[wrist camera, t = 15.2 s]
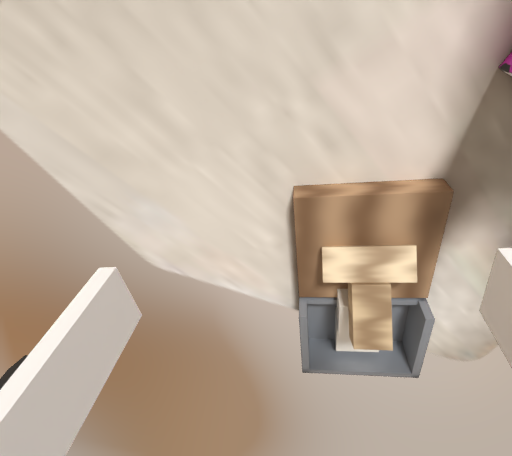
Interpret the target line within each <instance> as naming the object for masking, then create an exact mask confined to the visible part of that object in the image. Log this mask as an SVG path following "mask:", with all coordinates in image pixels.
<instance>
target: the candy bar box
mask: <svg viewBox="0 0 512 456" xmlns="http://www.w3.org/2000/svg"><path fill="white" fill-rule="evenodd" d="M499 69H500V70H502V71H504V72H505V73H507V74H509V75H510V76H512V52H511V53H510V54H509V56H508V57H507V58H506V59H505V60H504V62H503V63H502V64H501V65H500V66H499Z"/></svg>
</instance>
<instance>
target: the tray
mask: <svg viewBox="0 0 512 456" xmlns="http://www.w3.org/2000/svg"><path fill="white" fill-rule="evenodd" d="M391 302H392V338H393V351H391V350H379V352H356V351H336V345H335V335H334V332H335V307H337V297H299V323H300V340H301V356H302V372H303V373H325V374H327V373H328V374H347V375H348V374H349V375H369V376H391V377H413V378H418V377H419V375H420V371H421V367H422V364H423V360H424V357H425V353H426V350H427V346H428V342H429V339H430V335H431V332H432V328H433V324H434V321H435V319H434V316H433V314H432V312H431V309H430V307H429V305H428V302H427V300H426V298H391Z"/></svg>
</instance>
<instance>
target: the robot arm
mask: <svg viewBox="0 0 512 456" xmlns="http://www.w3.org/2000/svg"><path fill="white" fill-rule="evenodd" d="M479 311H480V313H481V314H482V316H483V318H484V320H485V321H486V323H487V325H488V327H489V329H490V330H491V332H492V334H493V336H494V337H495V339H496V341H497V343H498V344H499V346H500V348H501V350H502V352H503V353H504V355H505V357H506V358H507V360H508V362H509V364H510V366H511V367H512V248H498V249H497V253H496V256H495V259H494V263H493V266H492V270H491V273H490V276H489V280H488V283H487V286H486V290H485V293H484V297H483V300H482V303H481V307H480V310H479ZM141 316H142V314H141V312H140V311H139V309H138V307H137V305H136V303H135V301H134V299H133V297H132V296H131V294H130V292H129V290H128V288H127V286H126V284H125V282H124V281H123V279H122V277H121V275H120V273H119V271H118V270H117V268H116V267H107V268H99V269H98V270H97V271H96V272H95V273H94V275H93V276H92V277H91V278H90V280H89V281H88V282H87V284H86V285H85V286H84V287H83V288H82V290H81V291H80V292H79V293H78V294H77V296H76V297H75V298H74V299H73V301H72V302H71V303H70V304H69V306H68V307H67V308H66V309H65V311H64V312H63V313H62V314H61V316H60V317H59V318H58V319H57V320H56V322H55V323H54V324H53V325H52V327H51V328H50V329H49V330H48V332H47V333H46V334H45V335H44V336H43V338H42V339H41V340H40V342H39V343H38V344H37V345H36V347H35V348H34V349H33V350H32V351H31V353H30V354H29V355H28V356H27V355H25V356H24V357H23V358H21V359H20V360H19V361H18V362H17V363H15V364H14V365H13V366H12V367H11V368H9V369H8V370H7V372H6V373H5V374H4V375H3V376H2V377H1V379H0V456H65V455H66V454H67V452H68V450H69V448H70V446H71V444H72V443H73V441H74V439H75V437H76V435H77V433H78V432H79V430H80V428H81V426H82V424H83V422H84V420H85V419H86V417H87V415H88V413H89V411H90V410H91V408H92V406H93V404H94V402H95V400H96V399H97V397H98V395H99V393H100V391H101V389H102V388H103V386H104V384H105V382H106V380H107V378H108V376H109V375H110V373H111V371H112V369H113V367H114V365H115V364H116V362H117V360H118V358H119V356H120V354H121V353H122V351H123V349H124V347H125V345H126V343H127V342H128V340H129V338H130V336H131V334H132V332H133V331H134V329H135V327H136V325H137V323H138V321H139V320H140V318H141Z"/></svg>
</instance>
